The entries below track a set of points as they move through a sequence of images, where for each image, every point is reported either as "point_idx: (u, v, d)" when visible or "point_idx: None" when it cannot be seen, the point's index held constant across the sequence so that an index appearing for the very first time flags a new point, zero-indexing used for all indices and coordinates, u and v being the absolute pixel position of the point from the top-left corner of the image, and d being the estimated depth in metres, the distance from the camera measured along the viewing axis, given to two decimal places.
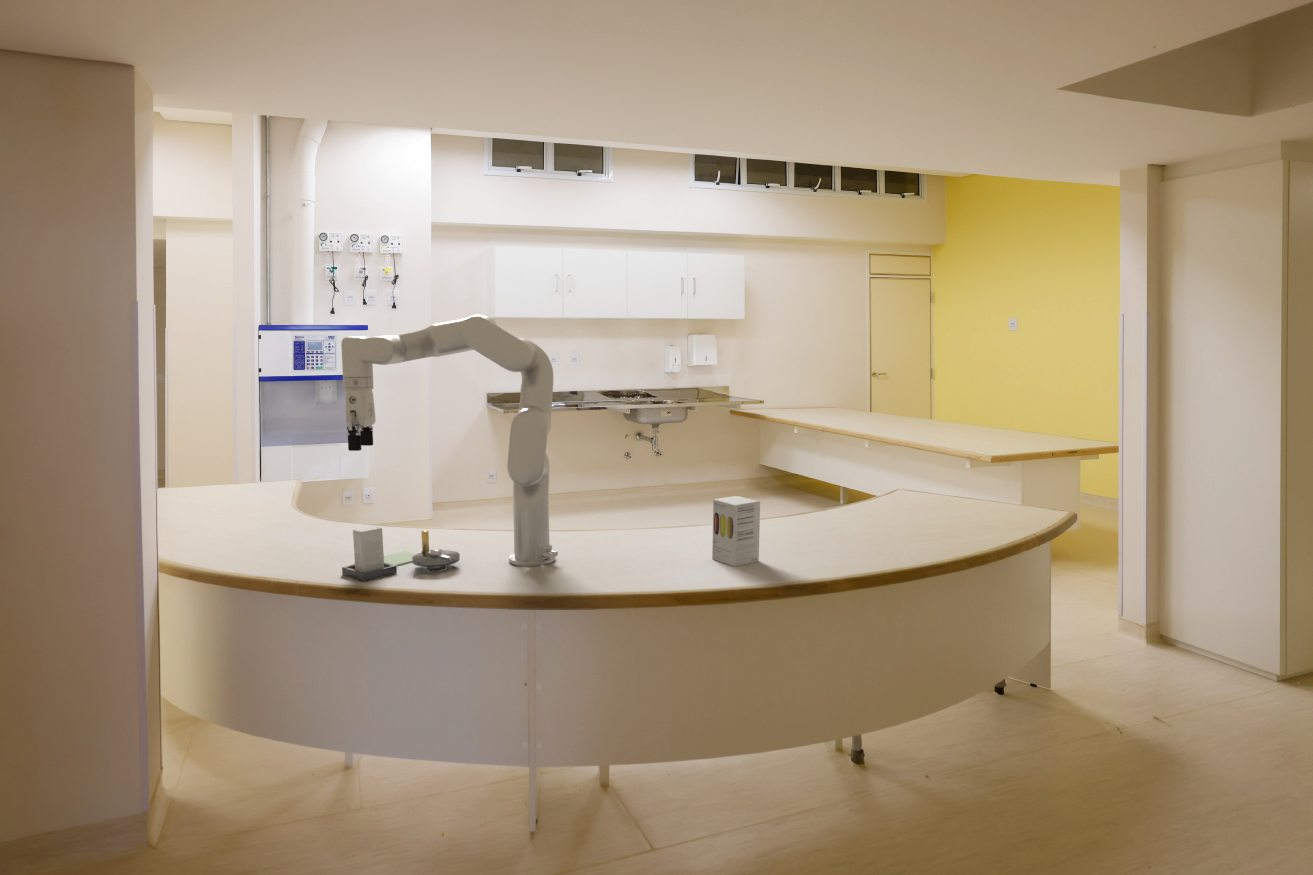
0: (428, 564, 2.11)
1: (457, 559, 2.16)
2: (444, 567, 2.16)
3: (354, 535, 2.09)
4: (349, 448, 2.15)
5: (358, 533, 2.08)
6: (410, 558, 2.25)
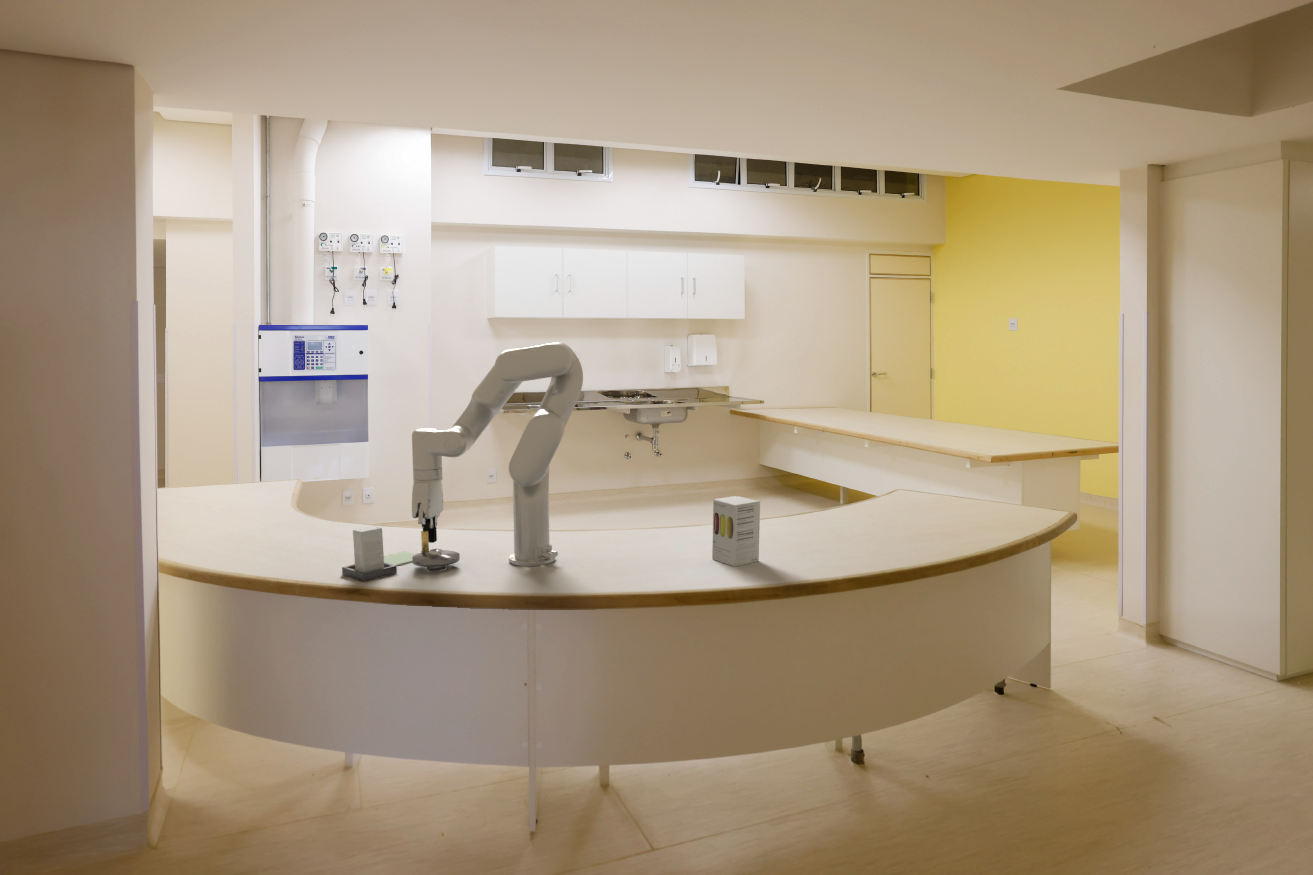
0: (428, 564, 2.11)
1: (457, 559, 2.16)
2: (444, 567, 2.16)
3: (354, 535, 2.09)
4: None
5: (358, 533, 2.08)
6: (410, 558, 2.25)
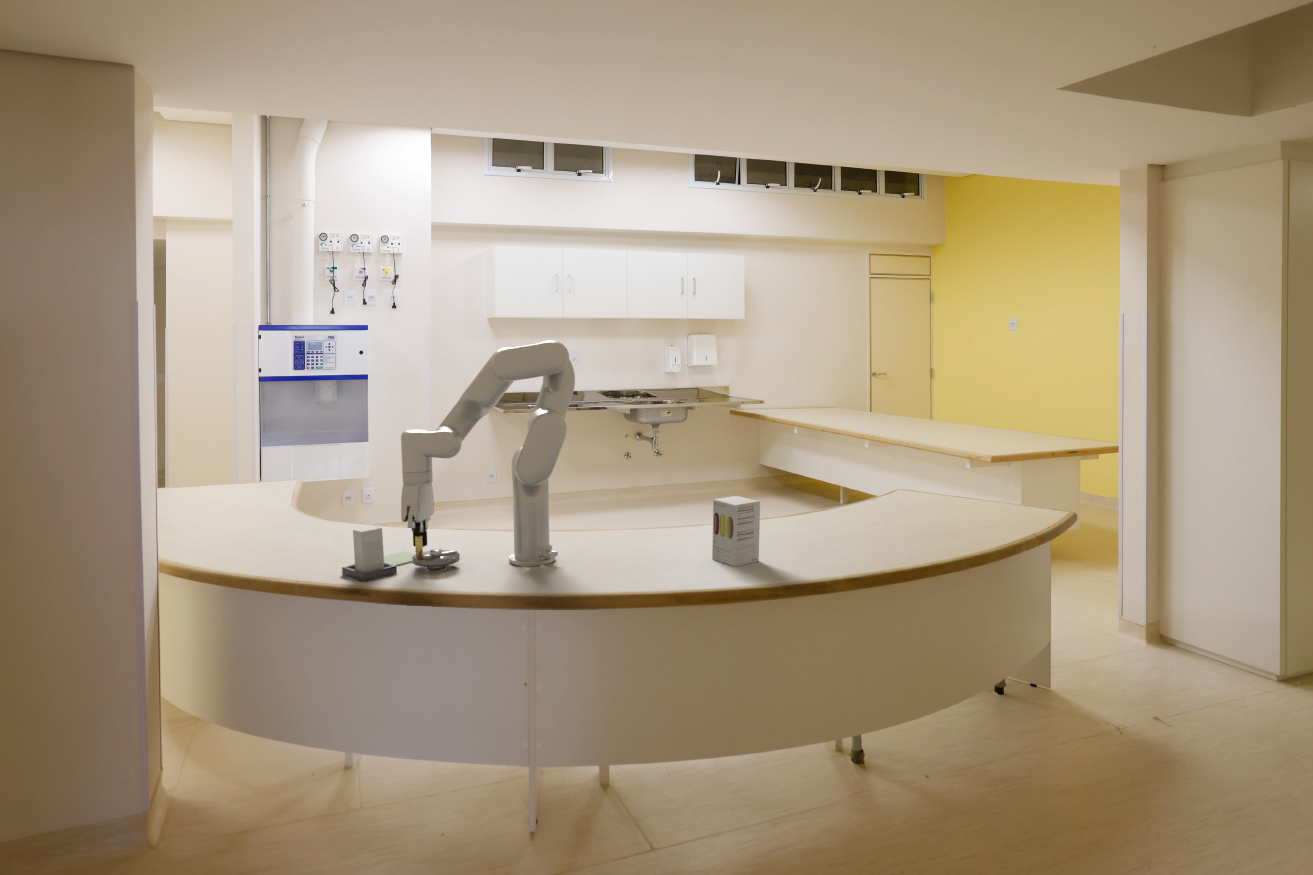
0: (456, 560, 2.15)
1: None
2: (444, 567, 2.16)
3: (354, 535, 2.09)
4: None
5: (358, 533, 2.08)
6: (410, 558, 2.25)
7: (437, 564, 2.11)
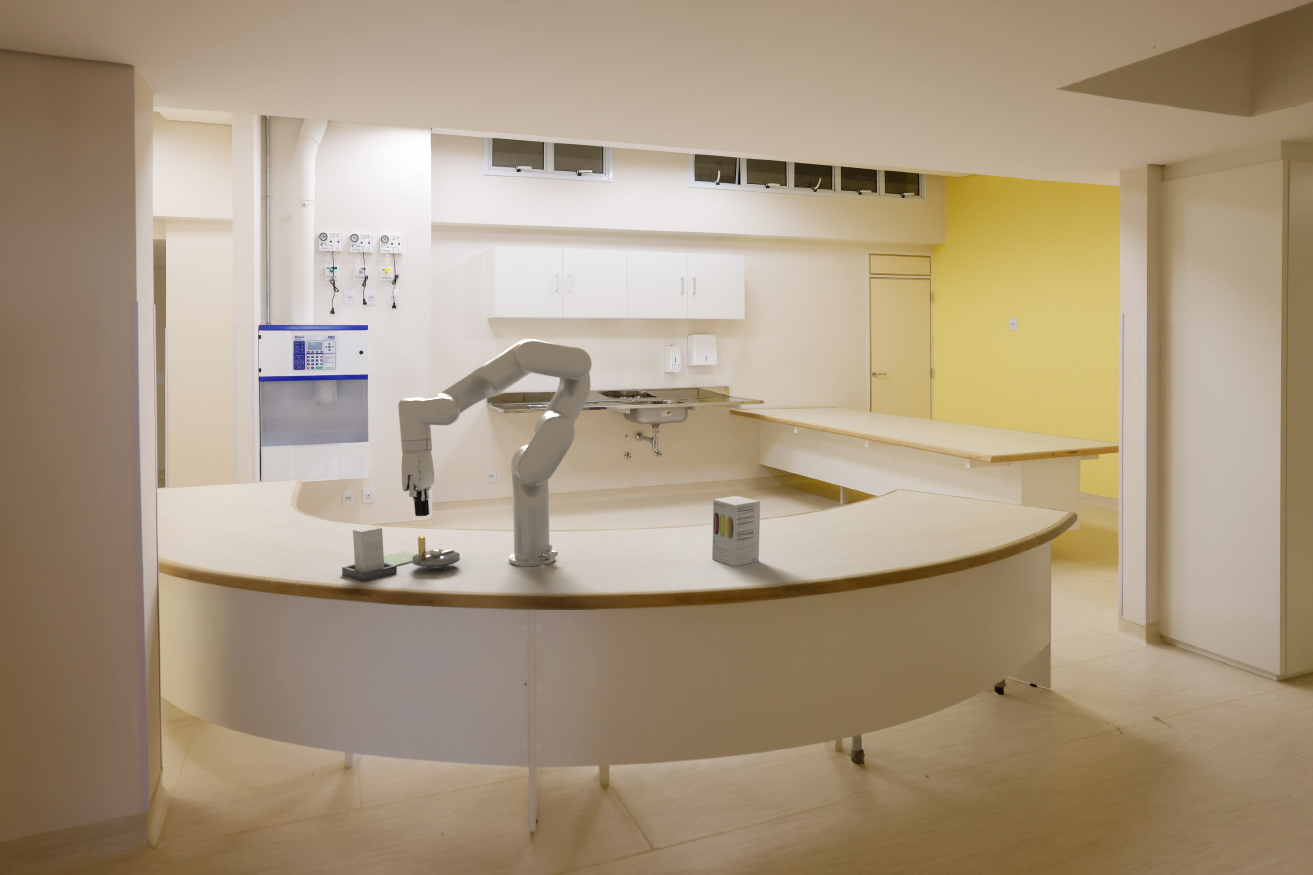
0: (459, 558, 2.17)
1: None
2: (444, 567, 2.16)
3: (354, 535, 2.09)
4: None
5: (358, 533, 2.08)
6: (410, 558, 2.25)
7: (444, 563, 2.12)
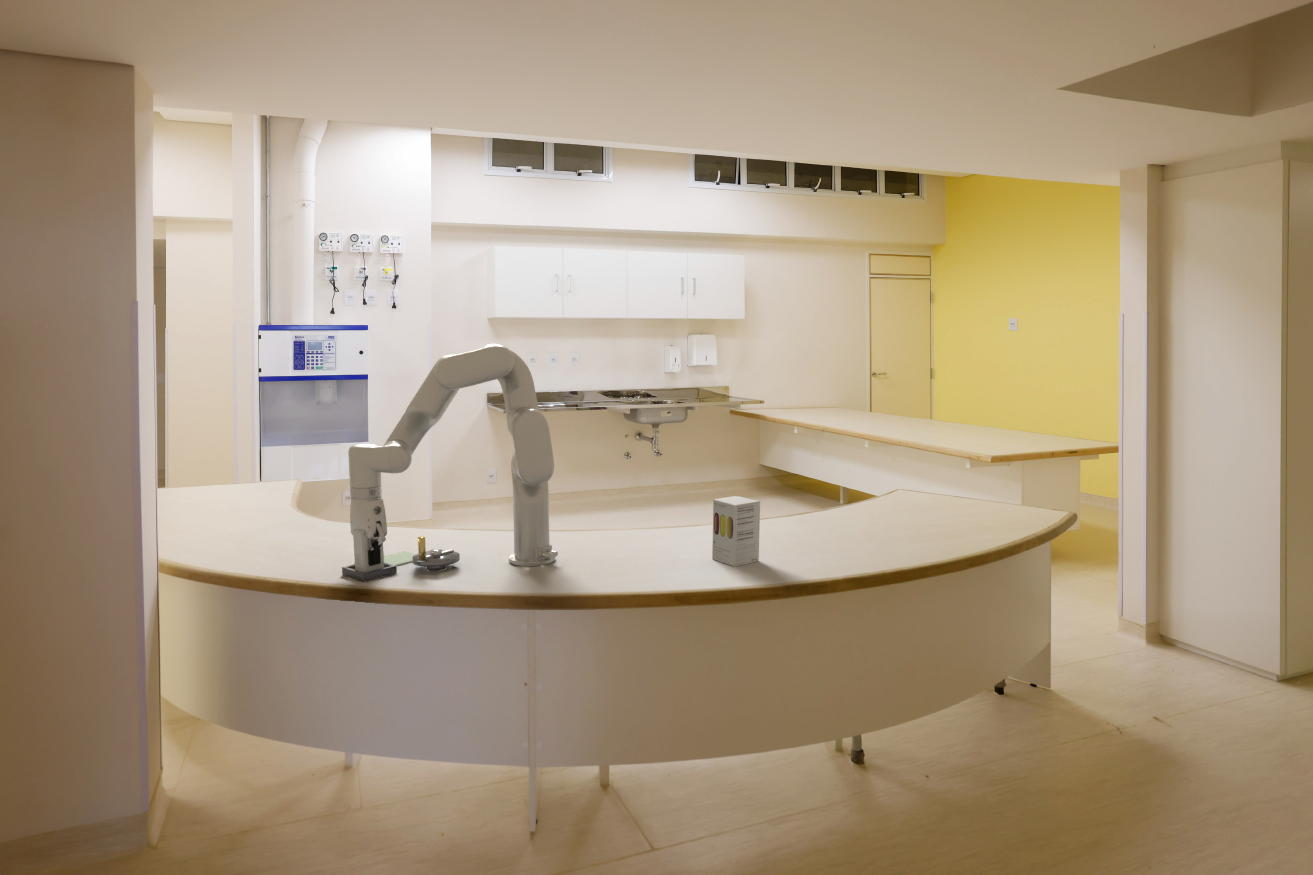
0: (459, 558, 2.17)
1: None
2: (444, 567, 2.16)
3: (354, 535, 2.09)
4: (370, 563, 2.09)
5: (358, 533, 2.08)
6: (410, 558, 2.25)
7: (444, 563, 2.12)
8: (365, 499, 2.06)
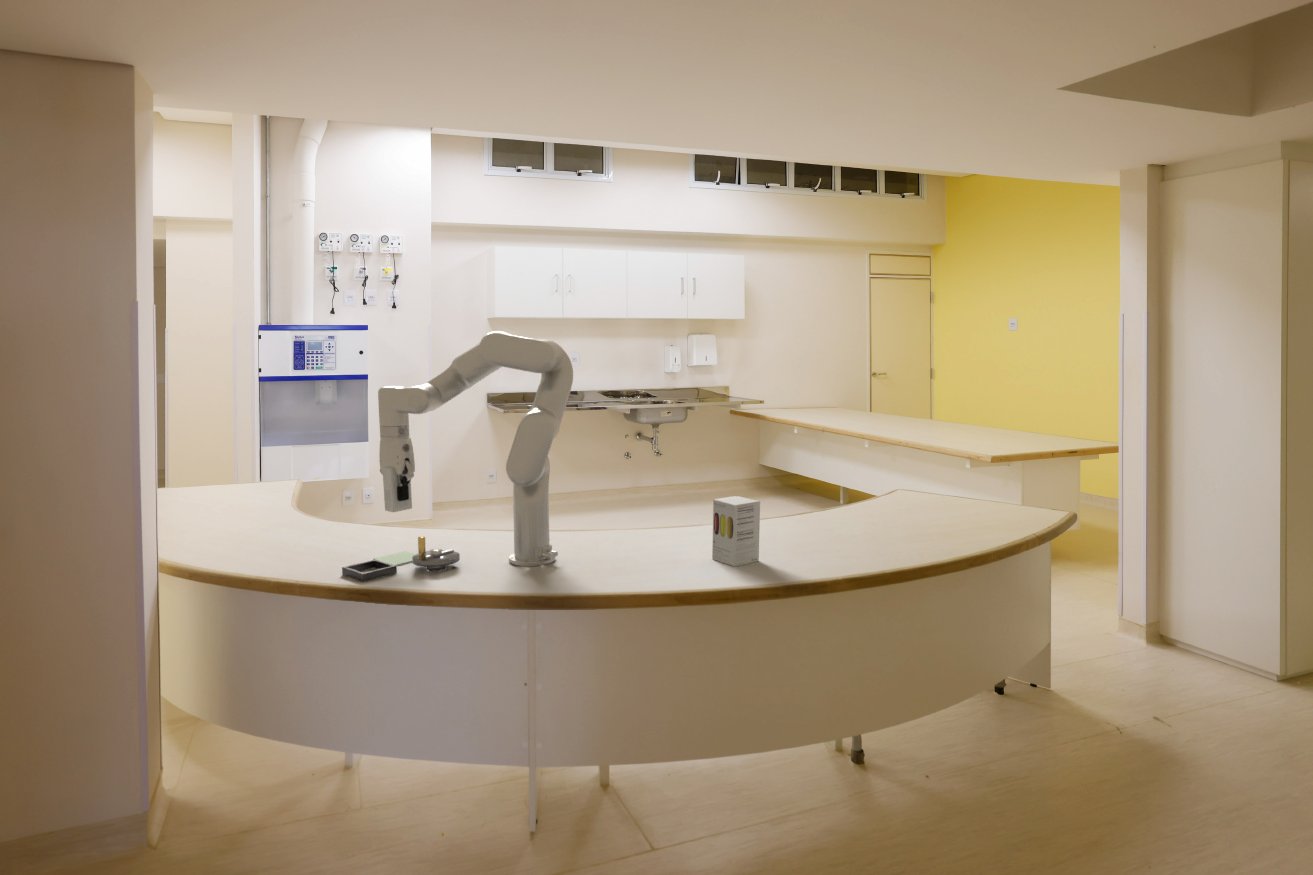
0: (459, 558, 2.17)
1: None
2: (444, 567, 2.16)
3: (384, 472, 2.21)
4: (399, 499, 2.21)
5: (388, 470, 2.19)
6: (410, 558, 2.25)
7: (444, 563, 2.12)
8: (394, 437, 2.18)
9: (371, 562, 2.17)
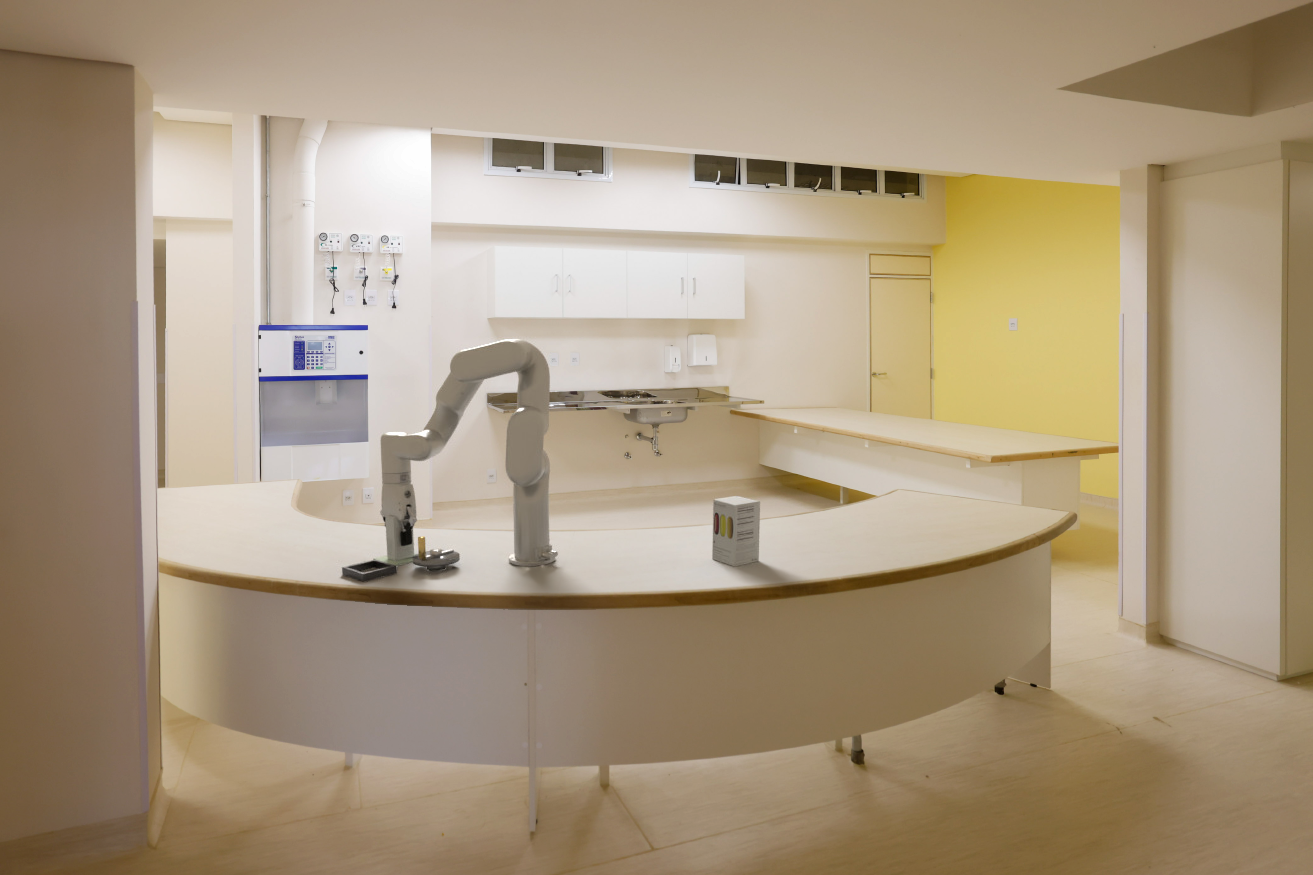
0: (459, 558, 2.17)
1: None
2: (444, 567, 2.16)
3: (386, 521, 2.23)
4: (402, 544, 2.22)
5: (390, 519, 2.21)
6: (410, 558, 2.25)
7: (444, 563, 2.12)
8: (396, 484, 2.19)
9: (371, 562, 2.17)
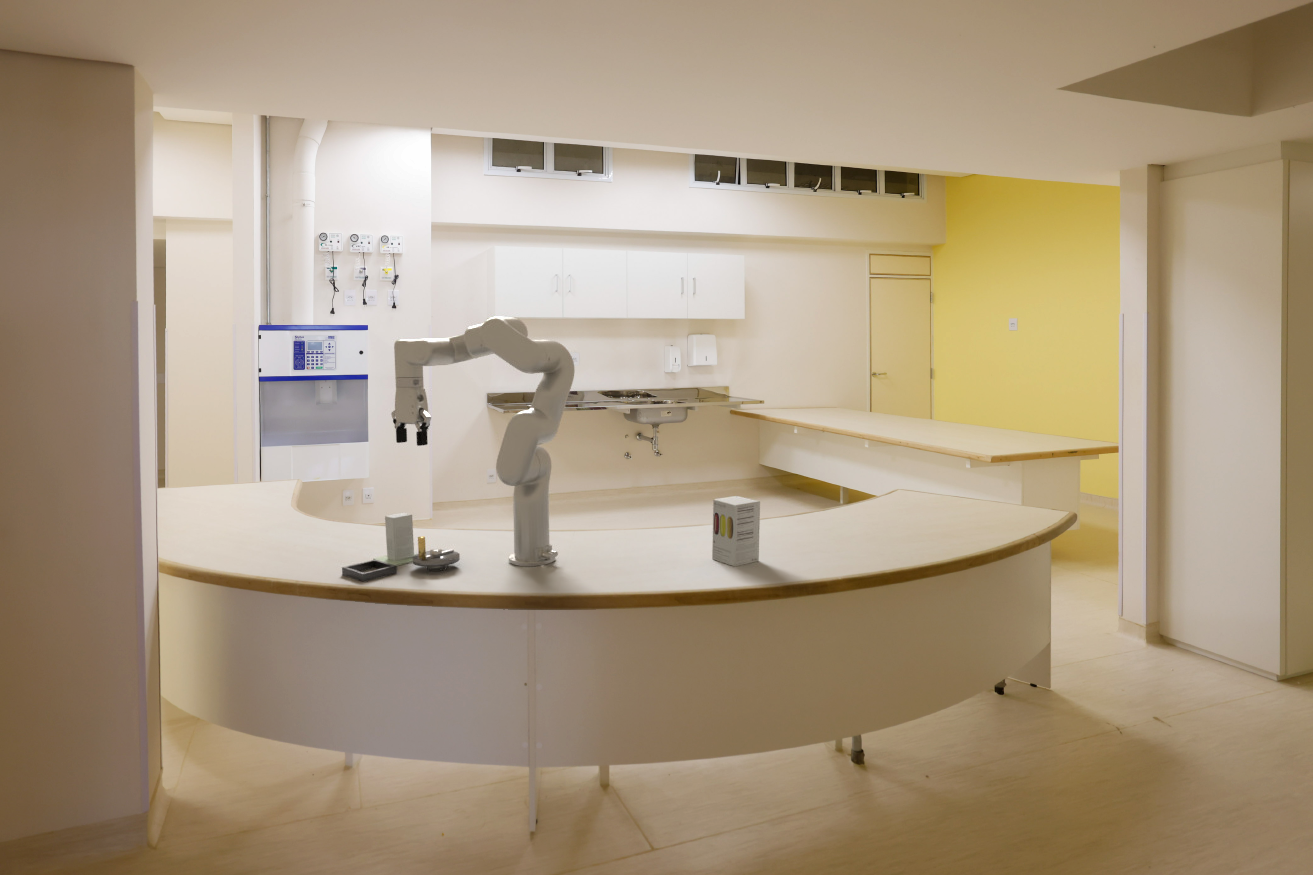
0: (459, 558, 2.17)
1: None
2: (444, 567, 2.16)
3: (386, 521, 2.23)
4: (418, 443, 2.30)
5: (390, 519, 2.21)
6: (410, 558, 2.25)
7: (444, 563, 2.12)
8: (409, 387, 2.28)
9: (371, 562, 2.17)
